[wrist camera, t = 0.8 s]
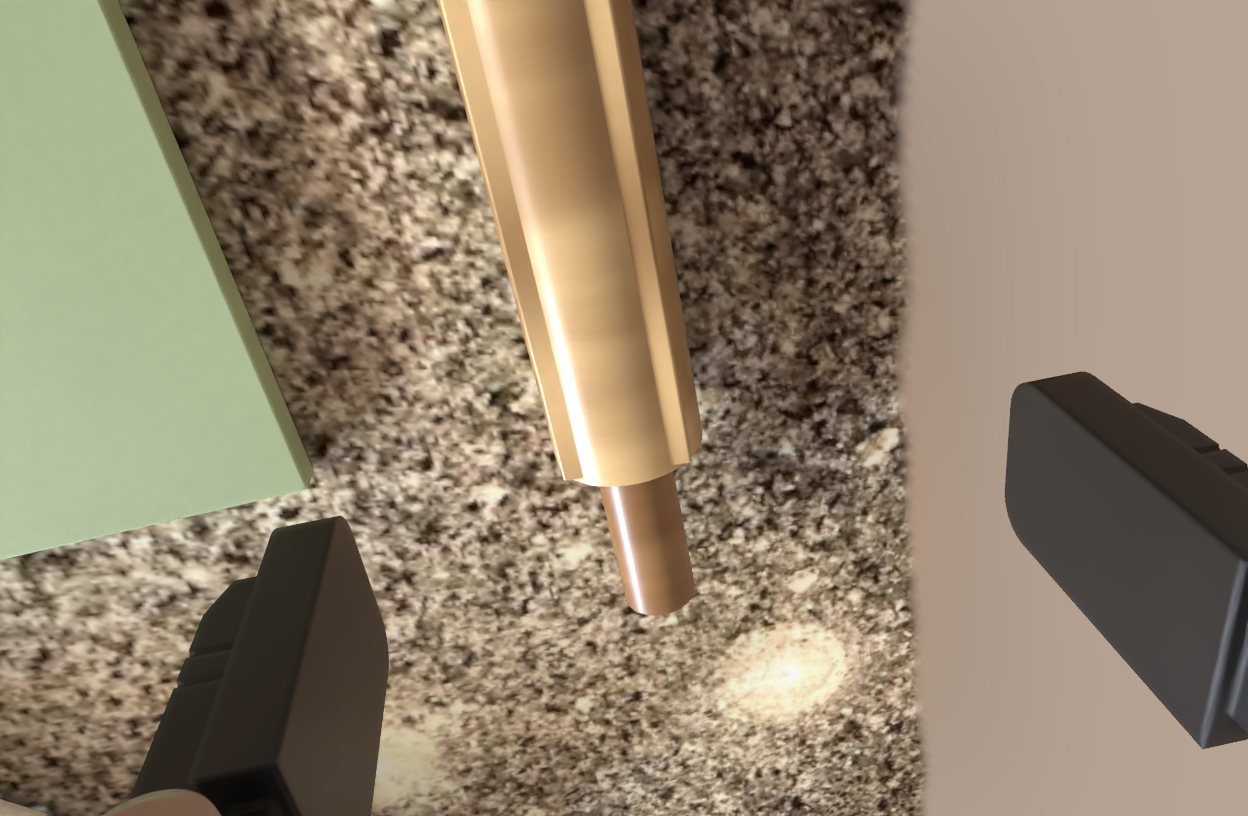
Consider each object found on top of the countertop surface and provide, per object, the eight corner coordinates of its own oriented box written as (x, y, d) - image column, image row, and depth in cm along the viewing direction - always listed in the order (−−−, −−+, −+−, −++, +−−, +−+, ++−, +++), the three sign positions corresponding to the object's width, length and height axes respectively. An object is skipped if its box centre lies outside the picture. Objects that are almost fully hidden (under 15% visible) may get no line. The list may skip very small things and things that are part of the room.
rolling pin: (348, -437, 20) (277, -518, 16) (553, -489, 20) (532, -585, 16) (596, 557, 34) (591, 648, 30) (721, 540, 33) (733, 629, 29)
